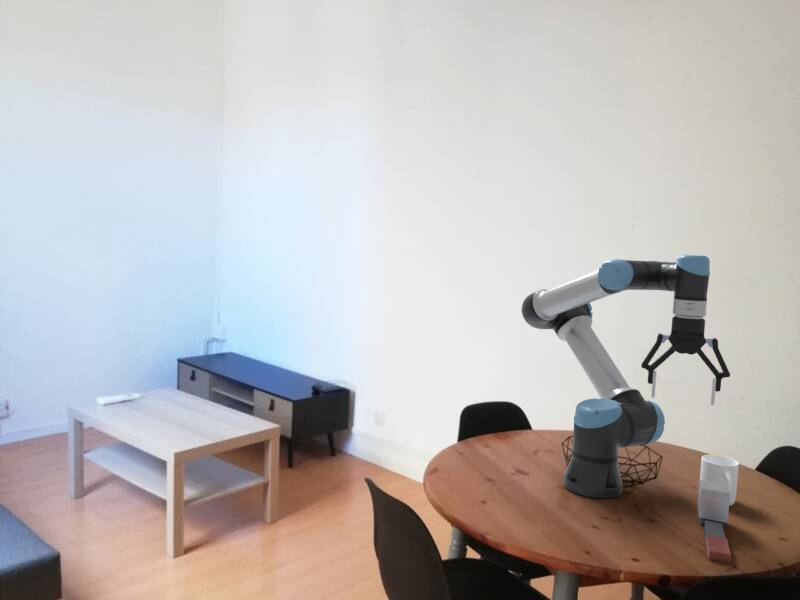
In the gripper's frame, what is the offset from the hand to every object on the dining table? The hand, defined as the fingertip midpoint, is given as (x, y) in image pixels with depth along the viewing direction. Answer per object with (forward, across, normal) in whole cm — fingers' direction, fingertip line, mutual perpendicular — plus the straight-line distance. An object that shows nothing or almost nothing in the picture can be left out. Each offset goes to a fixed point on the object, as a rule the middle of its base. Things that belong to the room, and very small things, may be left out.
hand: (681, 400), depth 155 cm
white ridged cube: (+25, +8, -9) cm, 28 cm away
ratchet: (+27, +8, -18) cm, 33 cm away
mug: (+27, +11, +6) cm, 30 cm away
